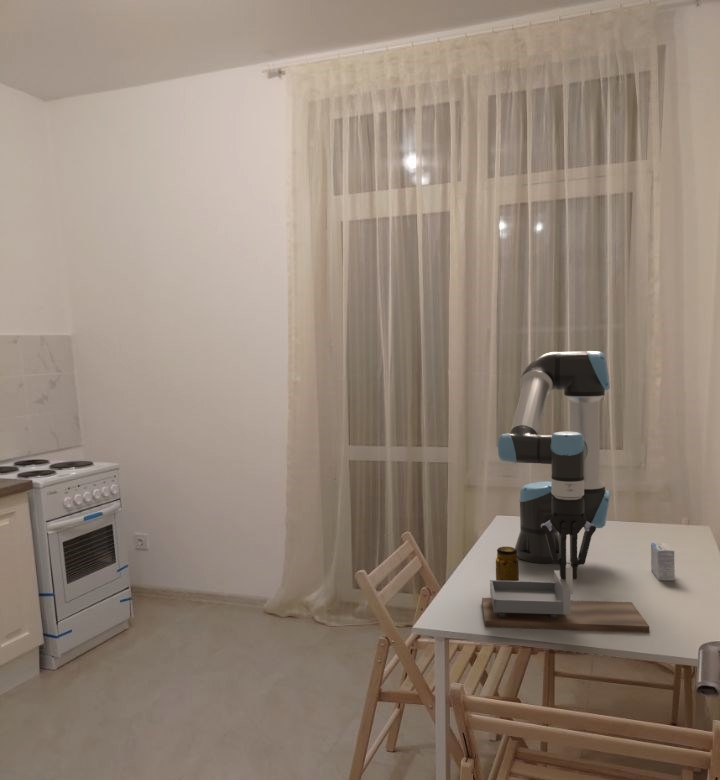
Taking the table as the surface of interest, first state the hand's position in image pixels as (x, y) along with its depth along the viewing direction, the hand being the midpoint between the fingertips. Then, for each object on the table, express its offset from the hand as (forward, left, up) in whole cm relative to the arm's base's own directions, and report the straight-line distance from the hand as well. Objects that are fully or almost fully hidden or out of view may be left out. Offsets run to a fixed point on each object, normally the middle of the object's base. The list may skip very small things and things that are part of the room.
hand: (568, 591), depth 153 cm
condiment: (-15, -12, -7) cm, 21 cm away
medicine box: (-31, +32, -7) cm, 45 cm away
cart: (0, -10, -5) cm, 11 cm away
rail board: (0, -2, -6) cm, 7 cm away
